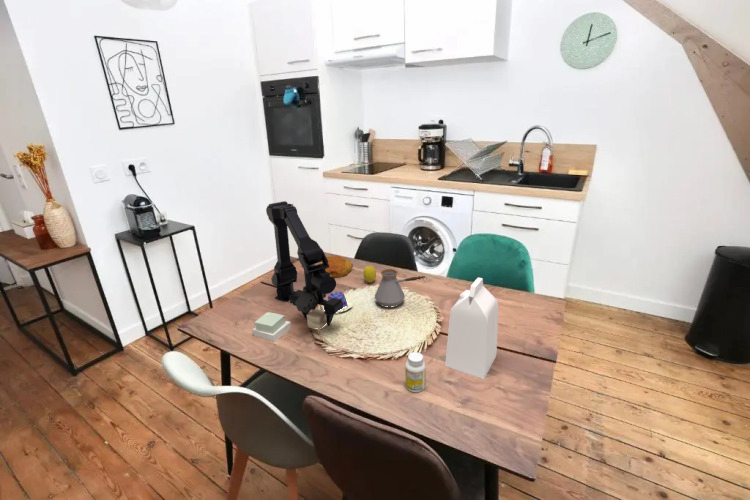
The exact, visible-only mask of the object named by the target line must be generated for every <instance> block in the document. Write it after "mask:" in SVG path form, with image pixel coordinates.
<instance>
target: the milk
mask: <svg viewBox="0 0 750 500" xmlns="http://www.w3.org/2000/svg"><path fill="white" fill-rule="evenodd" d="M498 323H499V302H498V300H497V299H496V297H495V296H494V295H493V294H491V292H490V291H489V290H488V289H487V288H486V287H485V285H484V279H483V278H482V277H477V278H476V279H475V280H474V281H473V282H472V284H471V285H470V289H465V290H464V291H463V292H461V293H460V294H459V298H458V299H457V301H456V302H455V303H454V305H452V307H451V309H450V312H449V322H448V330H447V341H446V342H447V344H446V351H445V352H446V354H445V362H444V363H445V365H444V367H447V368H450V369H453V370H456V371H459V372H461V373H465V374H467V375H470V376H473V377H477V378H479V379H482V380H485V378H486V376H487V375H488V373H489V371H490V369H491V368H492V365H493V363H494V361H495V360H496V357H497V352H498V351H497V349H498V327H499V326H498V325H499V324H498Z"/></svg>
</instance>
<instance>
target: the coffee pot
mask: <svg viewBox="0 0 750 500" xmlns="http://www.w3.org/2000/svg"><path fill="white" fill-rule="evenodd" d="M398 274H399V272H398V270H396V269H393V268H387V269H386V268H385V269H383V270H381V271H380V275H381V276H382V277H381V281H380V283H379V285H378V287H377V290H376V292H375V295H374V299H375V301H376V302H377V303H378V305H380V306H382V305H383V306H382V307H384V306H388V307H391V306H396V305H398V306H399V305H400V304H402V302H404V300H405V297H406V296H405V292H404V291H403V288H402V287H401V284H400V283H402V282H412V281H417V280H421V279H422V281H423V282H424V283H426V282H427V281H428V278H427V276H425V275H421V276H420V275H419V276H413V277H408V278H402V279H398V278H397V275H398ZM425 278H426V281H425V280H424V279H425ZM388 307H387V308H388ZM396 307H397V306H396ZM391 308H392V307H391Z"/></svg>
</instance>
